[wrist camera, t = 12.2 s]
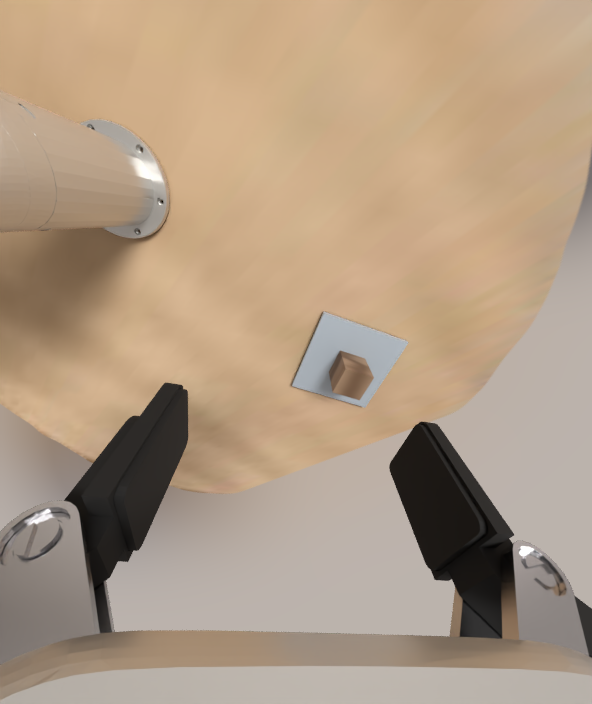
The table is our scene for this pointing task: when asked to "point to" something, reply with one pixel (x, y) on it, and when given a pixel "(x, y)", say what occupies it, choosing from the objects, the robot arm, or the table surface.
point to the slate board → (350, 339)
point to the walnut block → (350, 375)
